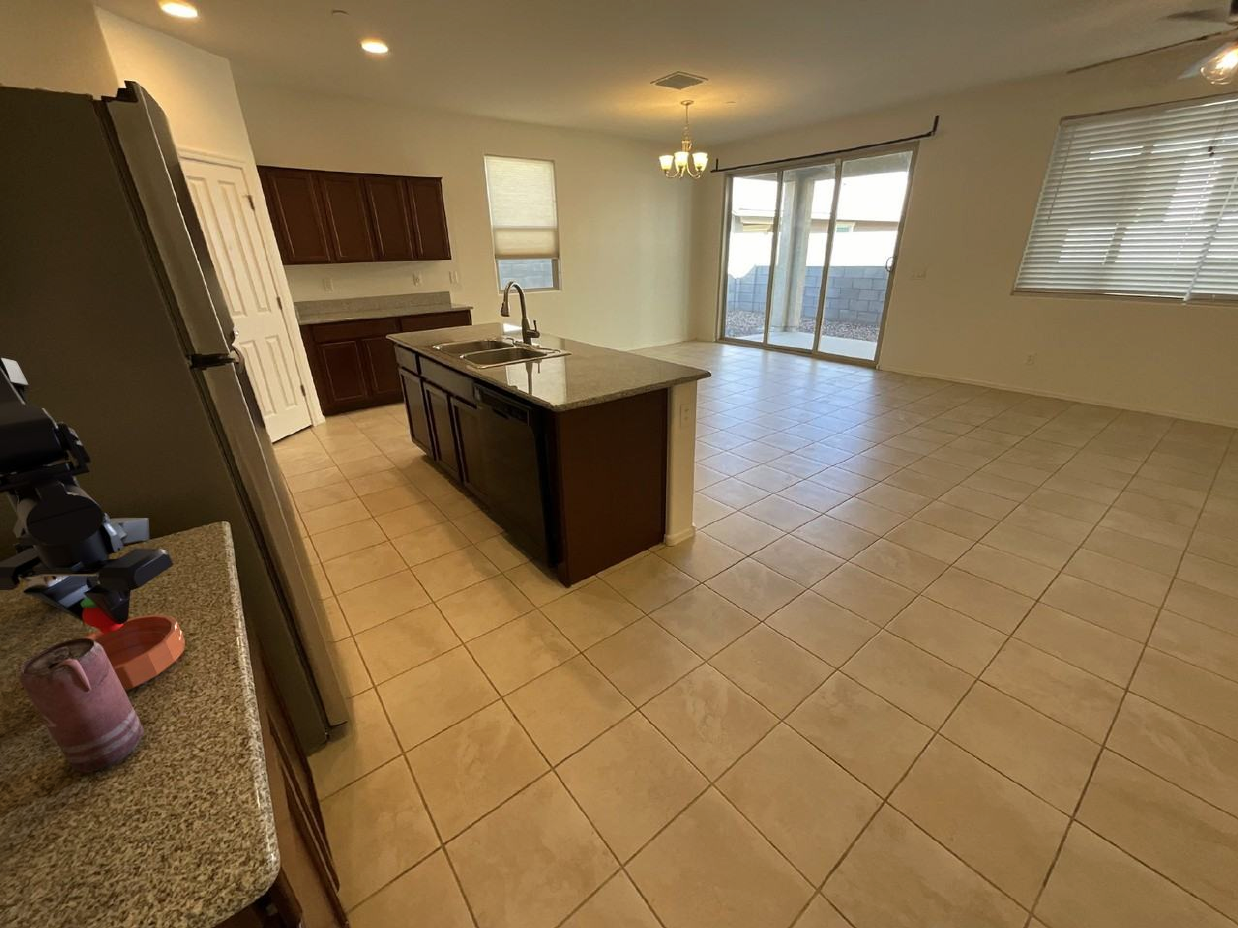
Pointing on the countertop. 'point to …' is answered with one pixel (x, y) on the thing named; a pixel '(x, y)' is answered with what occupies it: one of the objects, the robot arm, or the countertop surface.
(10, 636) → the countertop surface
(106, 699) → the can
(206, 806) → the countertop surface
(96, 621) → the strawberry
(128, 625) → the bowl
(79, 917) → the countertop surface
